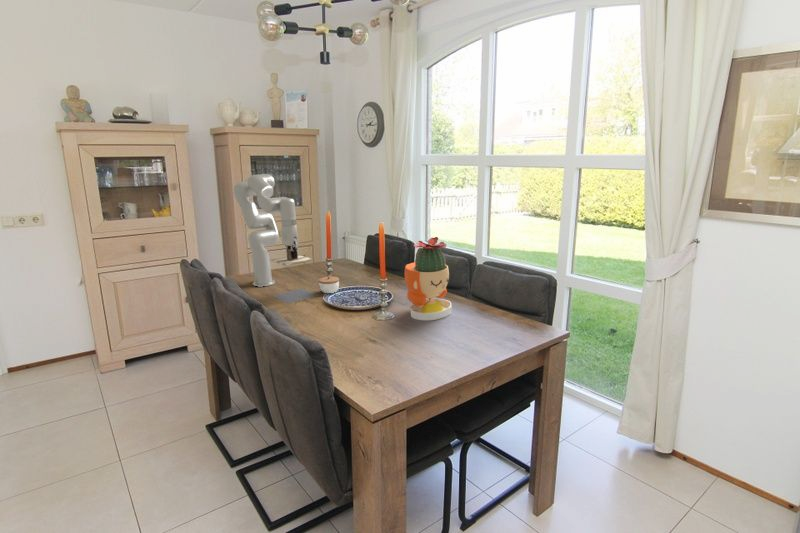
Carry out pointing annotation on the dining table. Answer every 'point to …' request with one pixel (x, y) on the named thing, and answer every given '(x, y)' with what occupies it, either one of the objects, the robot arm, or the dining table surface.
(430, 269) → the potted cactus
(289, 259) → the birch lid
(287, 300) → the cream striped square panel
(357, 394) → the dining table surface
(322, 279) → the lidded jar
